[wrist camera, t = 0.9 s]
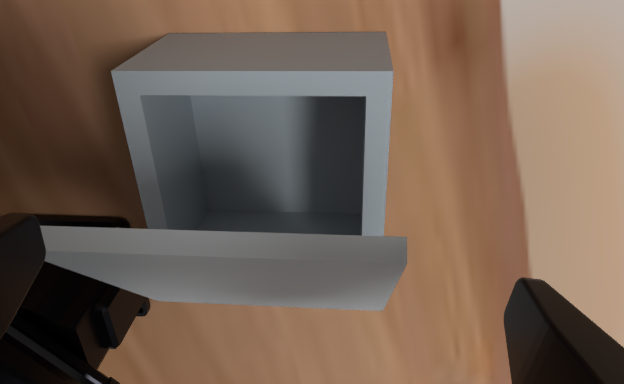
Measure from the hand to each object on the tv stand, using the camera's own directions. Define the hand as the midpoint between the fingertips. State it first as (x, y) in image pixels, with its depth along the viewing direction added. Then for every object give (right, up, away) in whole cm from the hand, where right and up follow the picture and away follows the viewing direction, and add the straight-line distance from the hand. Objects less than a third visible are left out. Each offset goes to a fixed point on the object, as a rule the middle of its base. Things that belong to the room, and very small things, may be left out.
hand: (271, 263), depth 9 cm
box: (-1, +4, +13) cm, 14 cm away
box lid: (-1, -1, +6) cm, 7 cm away
